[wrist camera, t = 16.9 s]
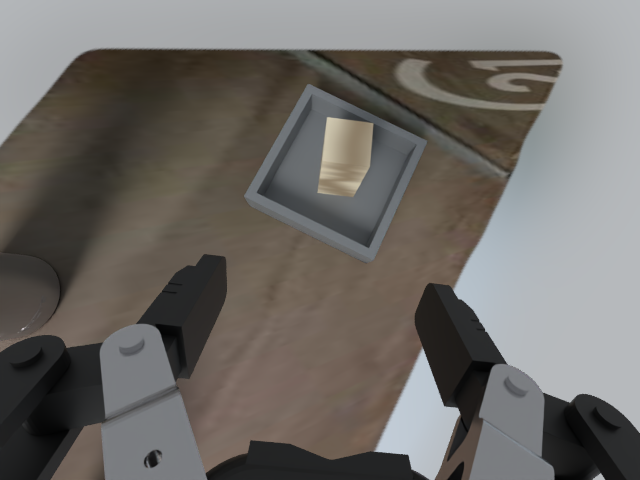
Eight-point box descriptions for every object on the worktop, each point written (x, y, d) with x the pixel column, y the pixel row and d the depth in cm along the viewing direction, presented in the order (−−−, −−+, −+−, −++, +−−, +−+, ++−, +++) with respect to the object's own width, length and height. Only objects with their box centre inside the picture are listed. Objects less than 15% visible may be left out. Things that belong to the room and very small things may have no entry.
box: (250, 206, 35) (243, 196, 31) (307, 103, 38) (308, 83, 34) (366, 263, 35) (373, 260, 31) (415, 155, 38) (427, 141, 34)
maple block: (317, 192, 35) (322, 160, 26) (321, 159, 36) (327, 117, 27) (353, 197, 35) (369, 166, 26) (356, 163, 36) (373, 123, 27)
